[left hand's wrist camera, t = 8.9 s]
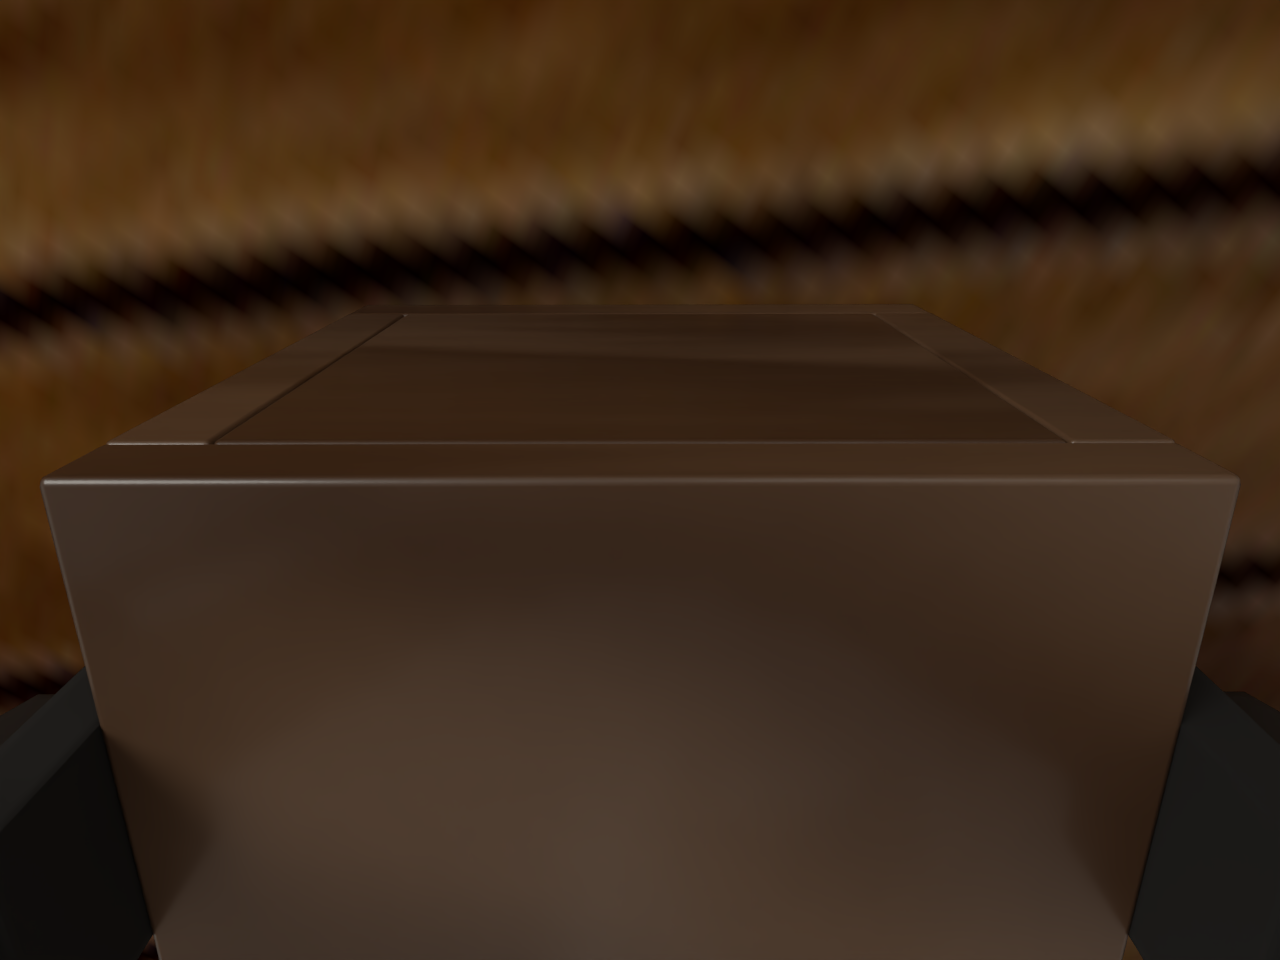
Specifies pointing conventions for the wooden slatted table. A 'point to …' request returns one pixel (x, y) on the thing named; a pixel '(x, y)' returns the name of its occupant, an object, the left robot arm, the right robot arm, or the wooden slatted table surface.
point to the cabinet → (640, 640)
